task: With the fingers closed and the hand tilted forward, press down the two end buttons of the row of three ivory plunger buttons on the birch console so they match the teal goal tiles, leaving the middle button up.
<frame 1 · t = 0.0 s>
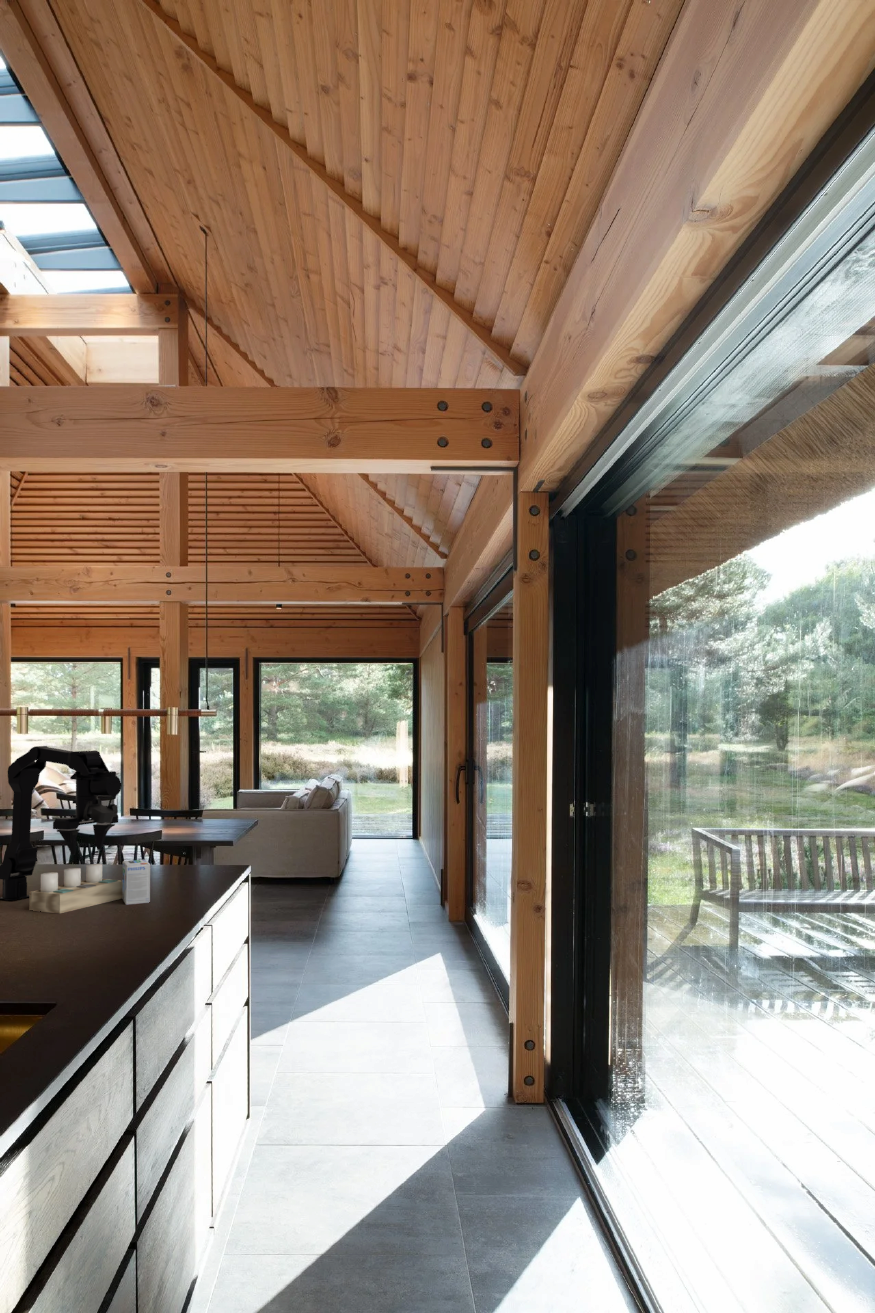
hand: (86, 852, 258), 15 cm above the countertop, tool pointing down, fingers open, 9 cm apart
button b: (72, 881, 261), point 6 cm above the countertop, slide at 0.0 cm
console: (77, 904, 259), on the countertop
light bulb box: (136, 901, 263), on the countertop
button a: (49, 886, 253), point 6 cm above the countertop, slide at 0.0 cm
button c: (94, 877, 268), point 6 cm above the countertop, slide at 0.0 cm
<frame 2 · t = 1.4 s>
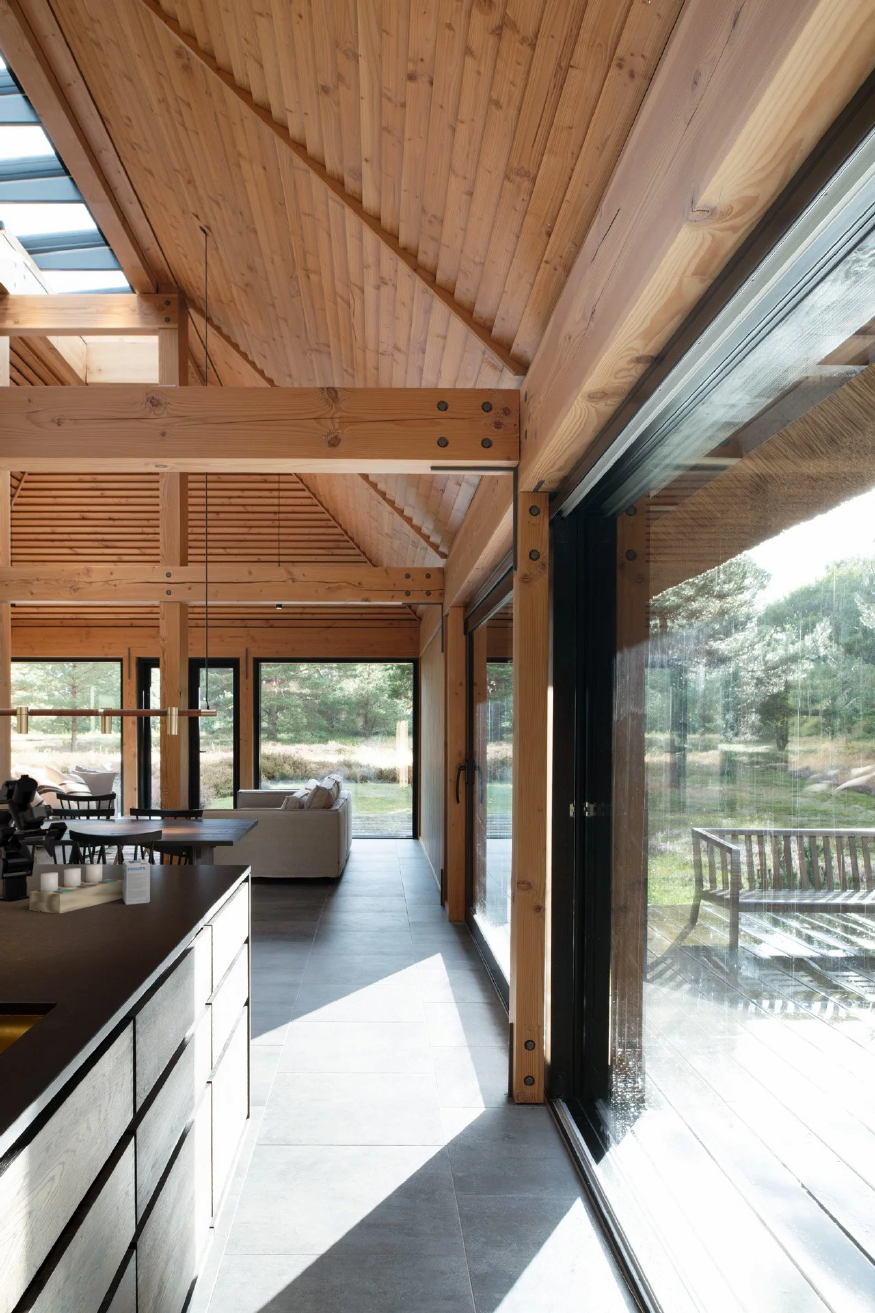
hand: (41, 857, 257), 14 cm above the countertop, tool tilted 45°, fingers open, 6 cm apart
nothing on the countertop moved.
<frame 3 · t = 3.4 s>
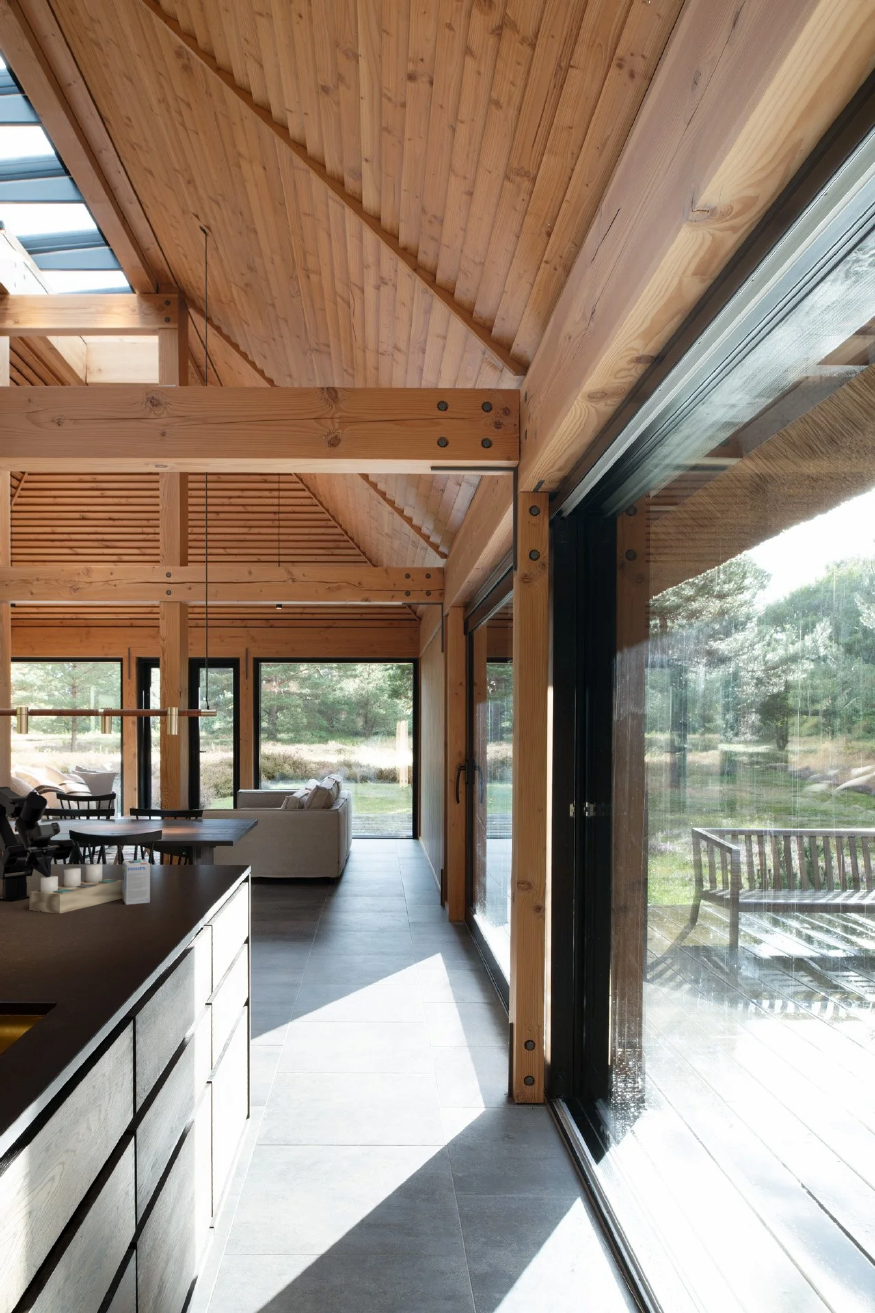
hand: (48, 876, 254), 9 cm above the countertop, tool tilted 45°, fingers closed, pressing on button a
button a: (49, 890, 253), point 5 cm above the countertop, slide at 1.0 cm, touching gripper
everything else where it was.
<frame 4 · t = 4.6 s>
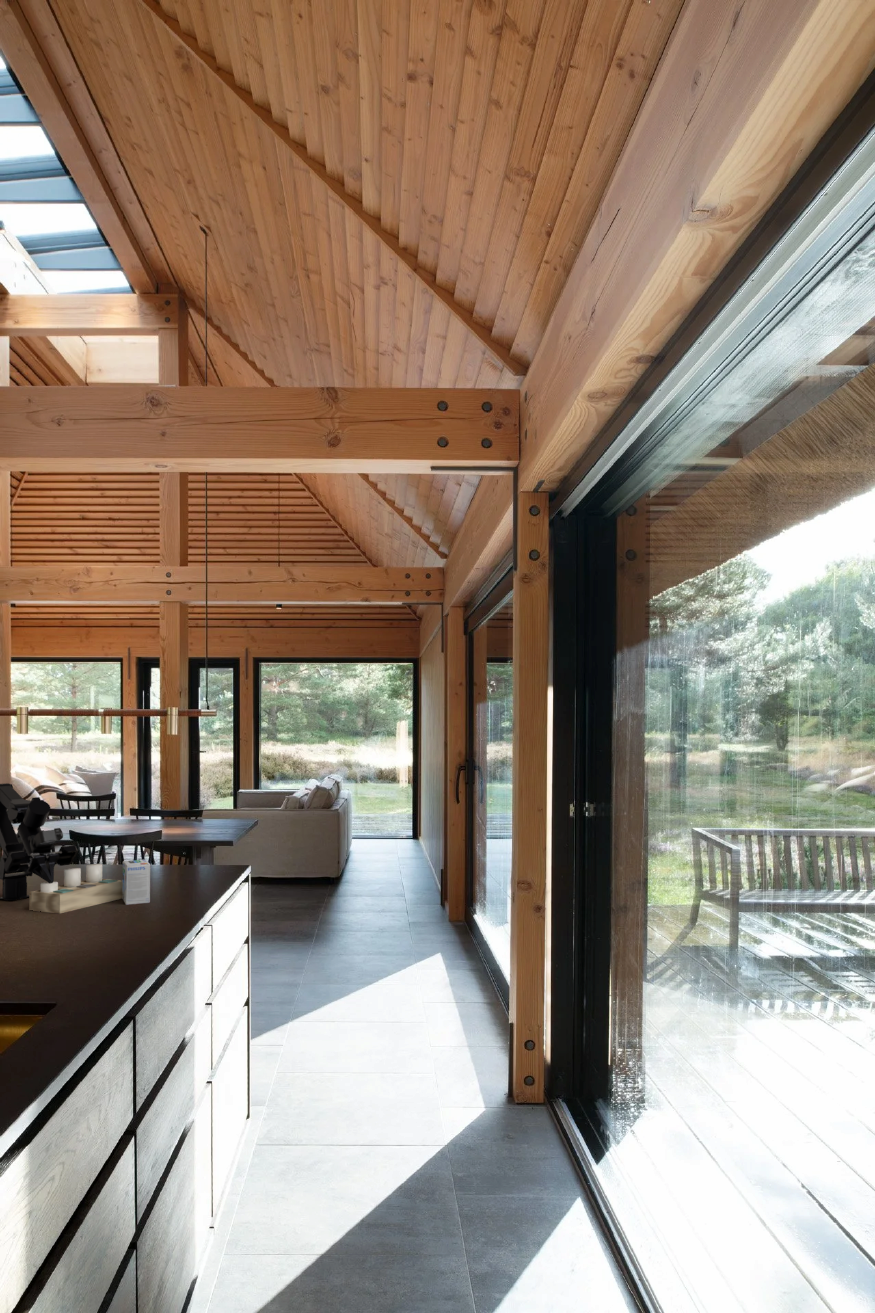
hand: (51, 882, 253), 7 cm above the countertop, tool tilted 45°, fingers closed
button a: (49, 896, 253), point 4 cm above the countertop, slide at 2.5 cm
everything else where it was.
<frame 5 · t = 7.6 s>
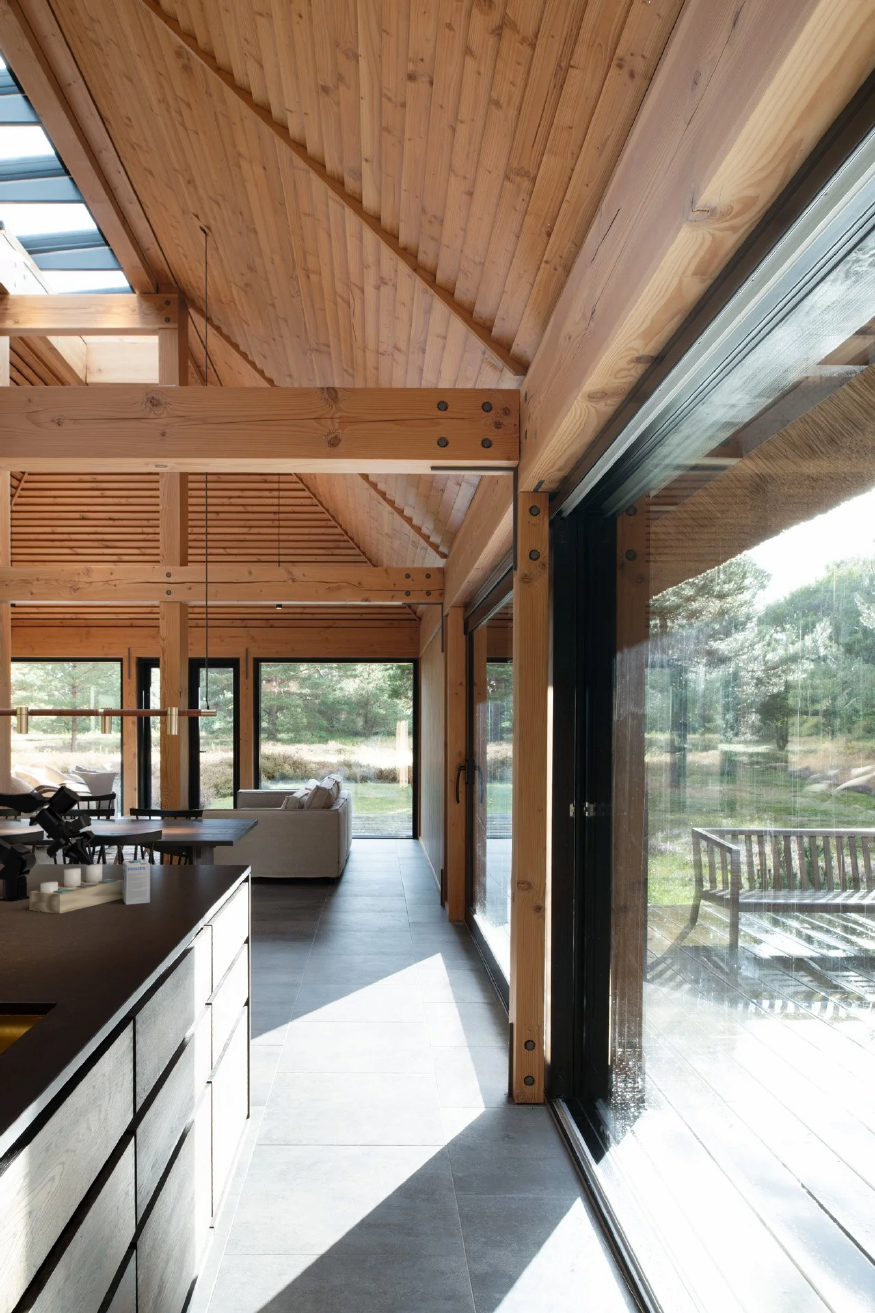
hand: (90, 864, 268), 10 cm above the countertop, tool tilted 45°, fingers closed, pressing on button c
button c: (94, 877, 268), point 6 cm above the countertop, slide at 0.0 cm, touching gripper
everything else where it was.
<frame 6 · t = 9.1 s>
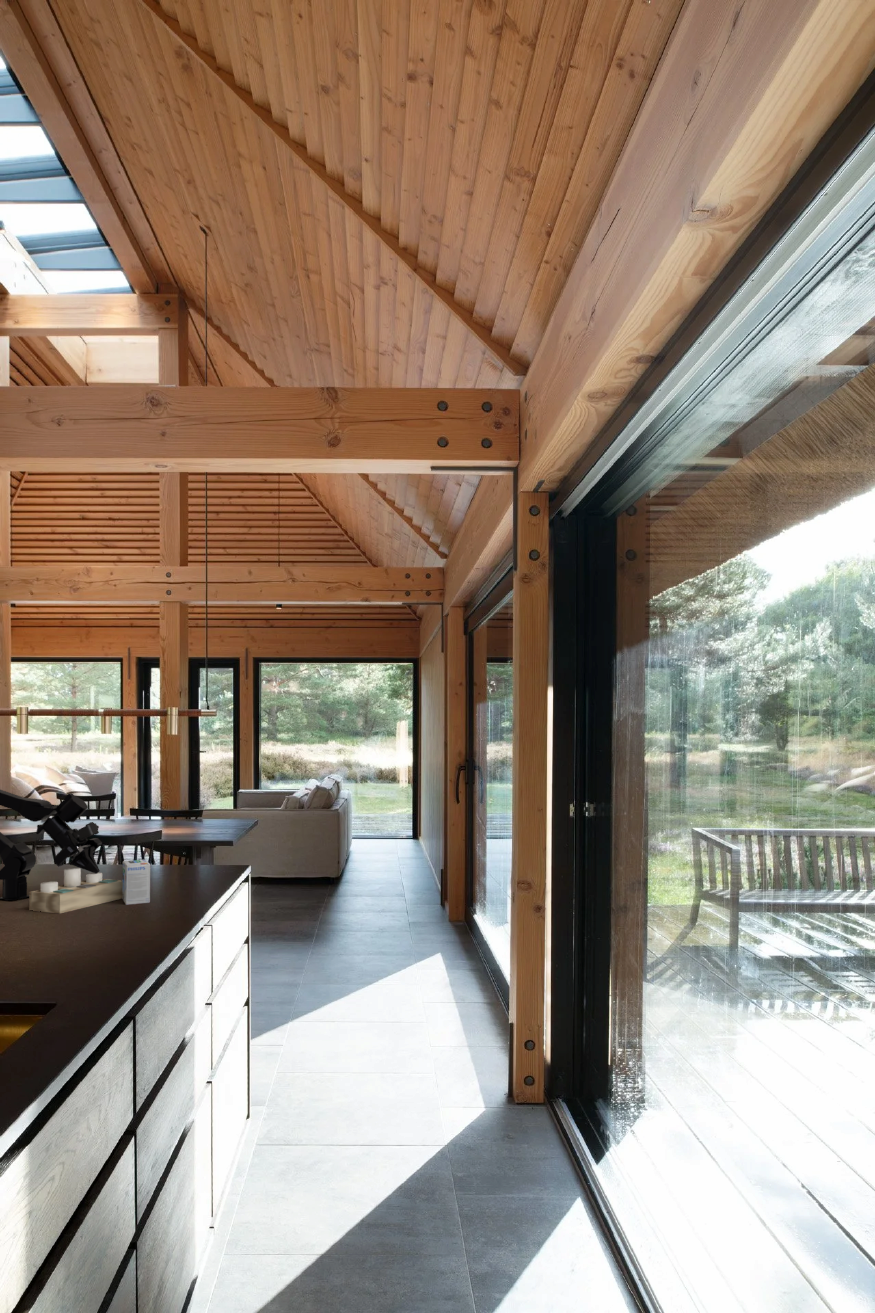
hand: (98, 872, 268), 7 cm above the countertop, tool tilted 45°, fingers closed
button c: (94, 886, 268), point 4 cm above the countertop, slide at 2.5 cm
everything else where it was.
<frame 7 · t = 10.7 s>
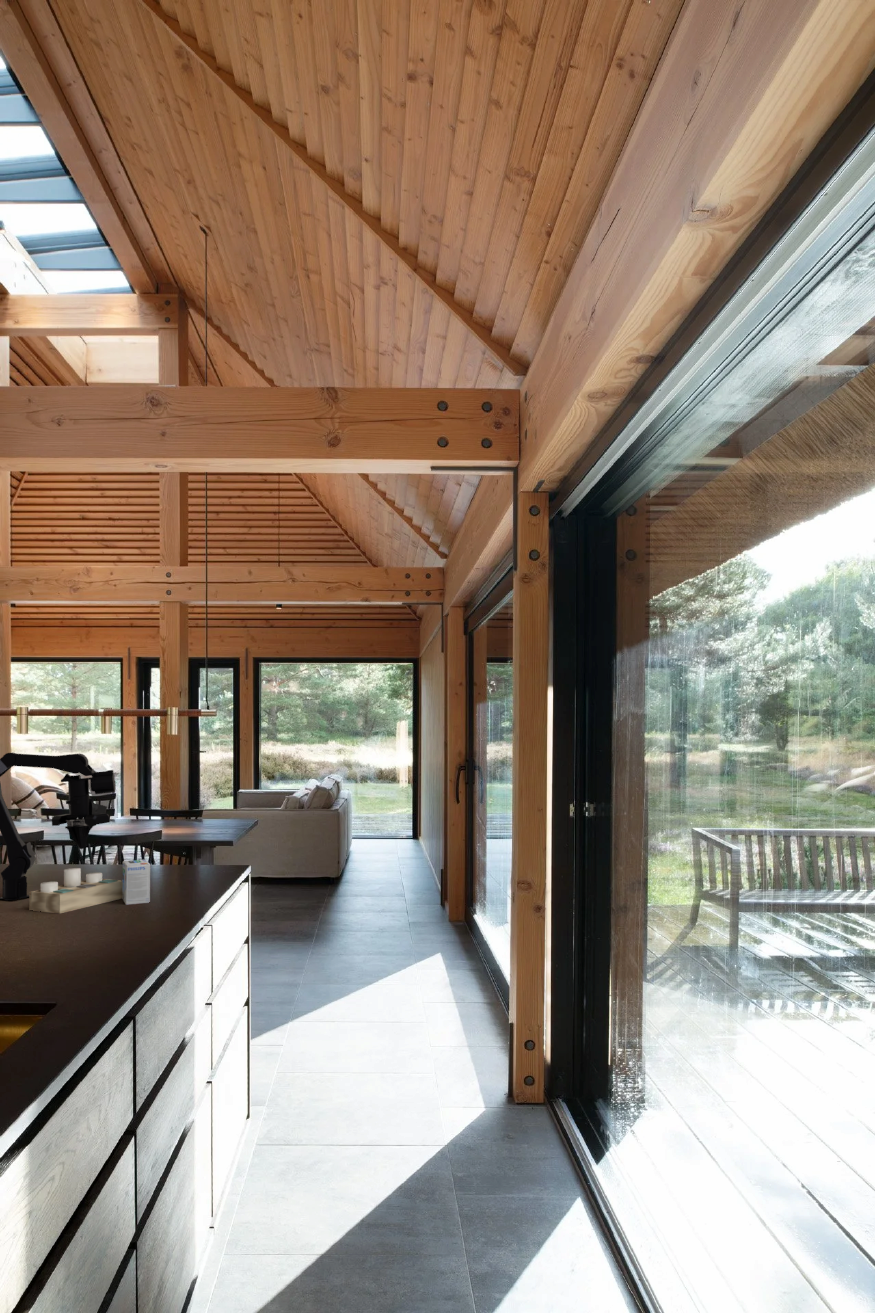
hand: (82, 848, 274), 13 cm above the countertop, tool pointing down, fingers closed
nothing on the countertop moved.
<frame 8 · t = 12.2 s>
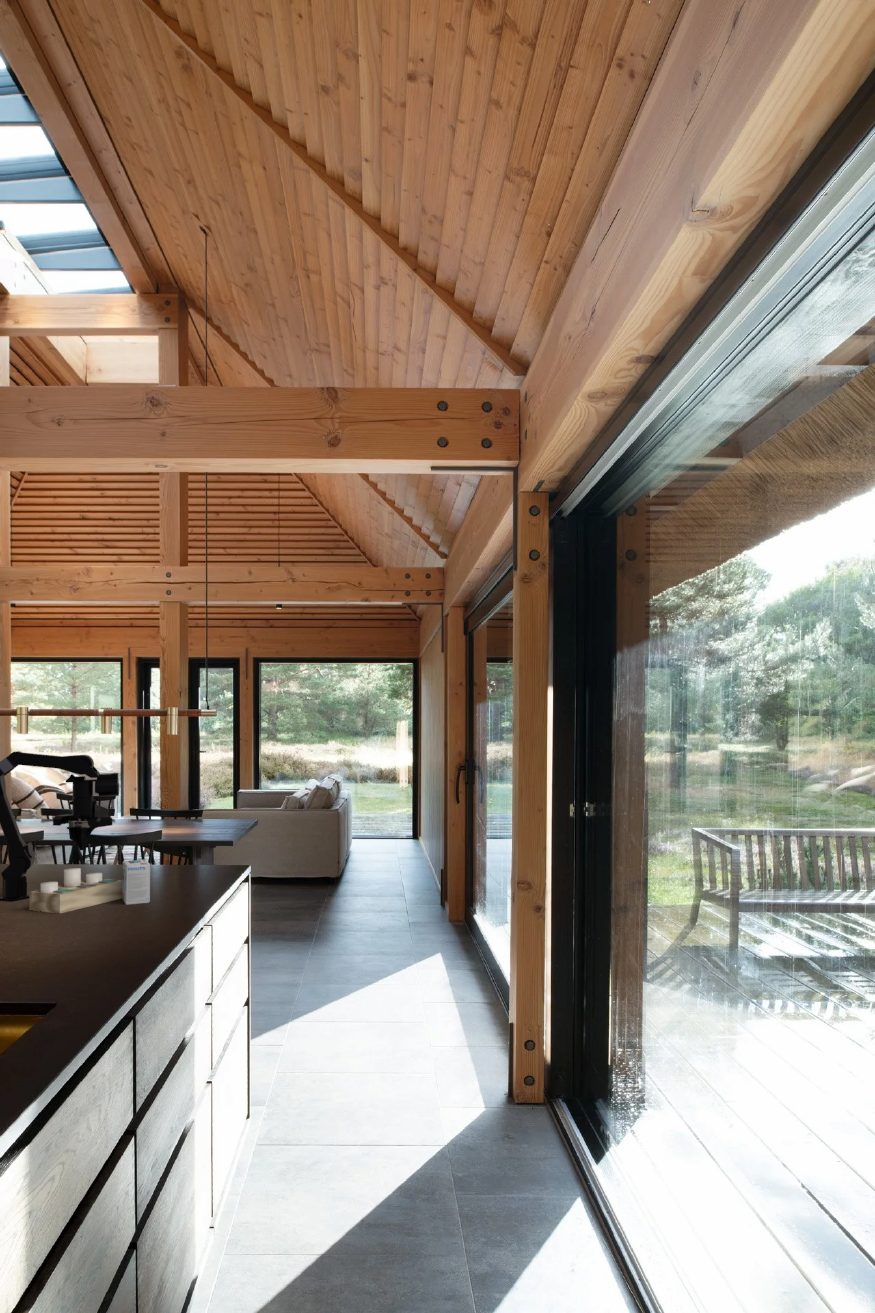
hand: (82, 850, 274), 13 cm above the countertop, tool pointing down, fingers closed
nothing on the countertop moved.
at the end: button a slide at 2.5 cm; button c slide at 2.5 cm; button b slide at 0.0 cm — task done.
